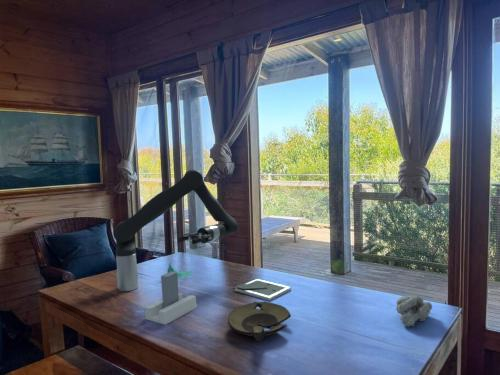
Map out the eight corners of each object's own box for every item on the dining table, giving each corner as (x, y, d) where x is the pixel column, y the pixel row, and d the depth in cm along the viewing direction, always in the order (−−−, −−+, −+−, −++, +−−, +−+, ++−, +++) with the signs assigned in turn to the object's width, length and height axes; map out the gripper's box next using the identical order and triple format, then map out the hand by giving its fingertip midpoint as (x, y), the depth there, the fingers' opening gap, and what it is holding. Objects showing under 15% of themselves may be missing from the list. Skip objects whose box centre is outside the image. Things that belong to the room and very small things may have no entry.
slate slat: (163, 312, 147) (161, 275, 146) (174, 306, 152) (171, 271, 151) (168, 313, 145) (166, 276, 144) (179, 308, 150) (177, 272, 149)
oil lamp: (298, 318, 139) (297, 298, 138) (271, 359, 111) (270, 335, 111) (244, 311, 148) (244, 292, 147) (207, 347, 120) (206, 324, 120)
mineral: (442, 310, 134) (428, 284, 137) (430, 325, 121) (414, 296, 124) (412, 319, 142) (399, 294, 144) (396, 334, 128) (383, 306, 131)
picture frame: (235, 292, 170) (269, 302, 157) (234, 286, 170) (269, 296, 156) (257, 282, 182) (291, 291, 168) (257, 277, 182) (291, 285, 168)
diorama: (200, 273, 201) (199, 257, 200) (170, 283, 186) (169, 267, 185) (185, 269, 209) (184, 254, 208) (156, 279, 194) (155, 263, 193)
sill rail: (145, 318, 144) (144, 307, 144) (177, 302, 159) (176, 292, 159) (165, 324, 138) (164, 312, 138) (196, 307, 153) (196, 296, 153)
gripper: (196, 225, 179) (173, 231, 166) (219, 227, 172) (197, 234, 158) (197, 240, 180) (174, 247, 166) (220, 242, 172) (197, 251, 159)
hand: (185, 241), depth 162 cm, fingers open, 8 cm apart
